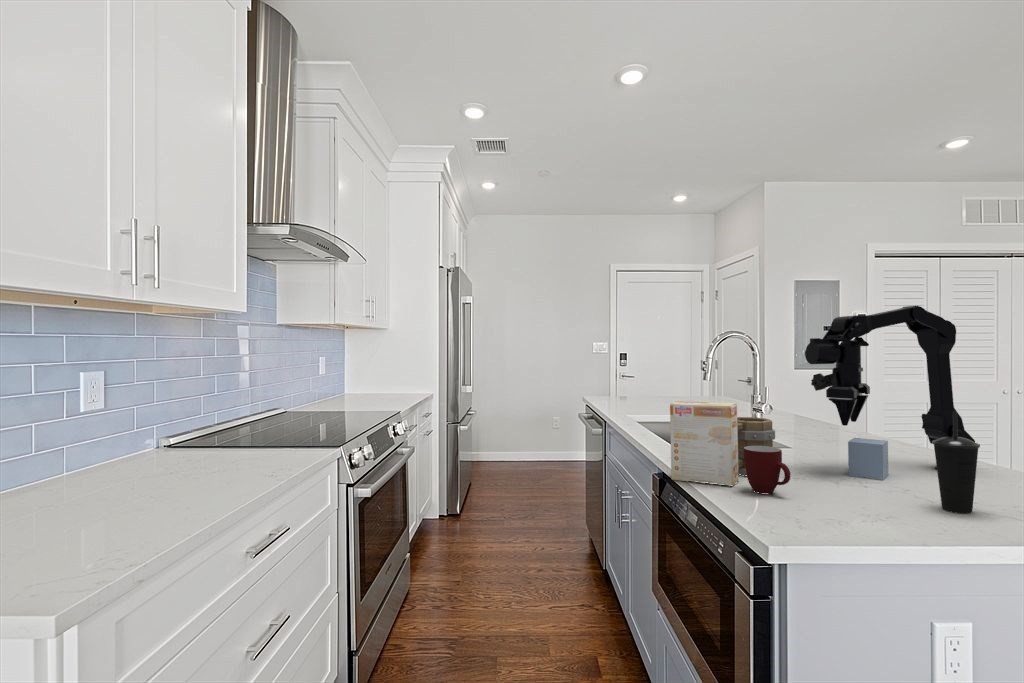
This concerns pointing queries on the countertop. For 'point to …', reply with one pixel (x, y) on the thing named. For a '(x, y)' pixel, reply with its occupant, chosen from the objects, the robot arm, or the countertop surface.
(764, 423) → the tankard
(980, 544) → the countertop surface
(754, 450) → the mug
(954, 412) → the drinking cup
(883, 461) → the slate grey cube
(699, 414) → the coffeecake box
